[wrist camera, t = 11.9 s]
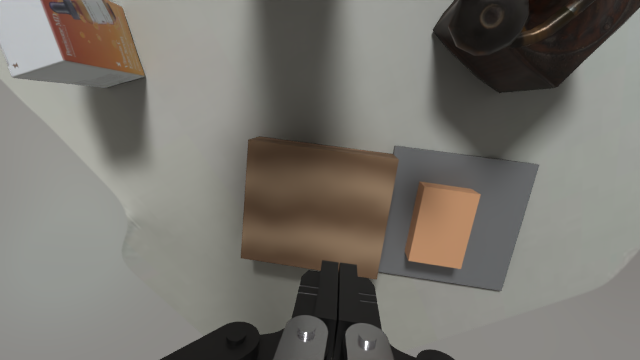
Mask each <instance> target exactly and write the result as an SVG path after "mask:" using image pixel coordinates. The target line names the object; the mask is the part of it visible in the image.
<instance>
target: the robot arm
mask: <svg viewBox="0 0 640 360" xmlns="http://www.w3.org/2000/svg"><path fill="white" fill-rule="evenodd" d="M338 265H339V271H338ZM331 358H332V360H454V359H453V358H452V357H450V356H449V355H447V354H445V353H443V352H440V351H437V350H424V351H421V352H420V353H419V354H418V355H417V357H416V358H415V357H413V356H410V355H408V354H405V353H403V352H401V351H399V350H397V349H395V348H394V347H393V346H391V345H390V343H389V340H388V338H387V336H386V334H385V333H384V332H383V331H382V329H381V323H380V317H379V311H378V305H377V299H376V293H375V287H374V285H373V284H372V282H371V281H370V280H369V279H368V278H364V277H358V273H357V265H356V264H348V263H341V262H340V264H339V262H333V261H325V260H322V264H321V271H320V272H318V271H310V270H308V271H307V272H306V273H305V274H304V275H303V276H302V278H301V282H300V286H299V290H298V294H297V299H296V303H295V307H294V311H293V315H292V319H291V320H289V321H288V323H287V324H286V326H285V328H284V329H282V330H280V331H278V332H275V333H271V334H263V335H259V332H258V330H257V329H256V327H254V326H253V325H251V324H249V323H246V322H232V323H229V324H226V325H224V326H222V327H220V328H218V329H217V330H215V331H213V332H211V333H209V334H207V335H205V336H203V337H202V338H200V339H198V340H196V341H194V342H192V343H190V344H189V345H186V346H185V347H183V348H181V349H179V350H177V351H175V352H173V353H171V354H170V355H168V356H166V357H164V358H162V359H160V360H331Z"/></svg>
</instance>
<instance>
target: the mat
mask: <svg viewBox="0 0 640 360" xmlns="http://www.w3.org/2000/svg"><path fill="white" fill-rule="evenodd" d="M393 155H395V156H396V157H397V158H398V159H399V162H398V167H397V173H396V178H395V183H394V189H393V194H392V200H391V205H390V210H389V216H388V221H387V226H386V232H385V237H384V243H383V248H382V253H381V259H380V264H379V269H378V272H384V273H390V274H397V275H403V276H409V277H416V278H422V279H429V280H435V281H442V282H448V283H455V284H461V285H467V286H474V287H480V288H487V289H493V290H500V291H501V290H502V287H503V284H504V280H505V277H506V274H507V270H508V267H509V264H510V260H511V257H512V254H513V250H514V247H515V244H516V240H517V237H518V234H519V230H520V227H521V224H522V220H523V217H524V214H525V210H526V207H527V204H528V201H529V197H530V194H531V191H532V187H533V184H534V181H535V177H536V174H537V171H538V167H539V165H538V164H531V163H524V162H516V161H508V160H501V159H493V158H485V157H478V156H470V155H462V154H455V153H447V152H439V151H432V150H424V149H416V148H409V147H401V146H395V147H394V152H393ZM419 181H420V182H427V183H434V184H441V185H448V186H455V187H462V188H469V189H473V190H474V191H476V192H477V193H479V194H481V195H480V199H479V203H478V207H477V210H476V214H475V218H474V222H473V225H472V229H471V233H470V237H469V240H468V244H467V248H466V252H465V255H464V259H463V263H462V267H461V269H457V268H451V267H445V266H438V265H432V264H426V263H419V262H413V261H408V259H407V256H406V254H405V247H406V242H407V237H408V233H409V228H410V223H411V219H412V214H413V209H414V205H415V200H416V195H417V191H418V186H419Z"/></svg>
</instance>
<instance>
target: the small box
mask: <svg viewBox="0 0 640 360" xmlns="http://www.w3.org/2000/svg"><path fill="white" fill-rule="evenodd" d="M0 47H1V49H2V52H3V54H4V57H5V59H6V62H7V64H8V68H9V71H10V73H11V76H12V77H13V78H19V79H28V80H37V81H47V82H56V83H66V84H75V85H84V86H93V87H101V88H106V87H110V86H113V85H117V84H121V83H124V82H128V81H131V80H135V79H139V78H142V77H145V74H144V72H143V69H142V66H141V64H140V61H139V58H138V55H137V52H136V49H135V46H134V43H133V40H132V36H131V33H130V30H129V27H128V24H127V21H126V18H125V14H124V11H123V8H122V7H121V6H119V5H117V4H115V3H113V2H110V1H108V0H0Z"/></svg>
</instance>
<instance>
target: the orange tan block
mask: <svg viewBox="0 0 640 360" xmlns="http://www.w3.org/2000/svg"><path fill="white" fill-rule="evenodd" d="M480 195H481V194H479V193H477V192H476V191H474V190H473V189H469V188H462V187H455V186H448V185H441V184H434V183H427V182H420V181H419V186H418V191H417V195H416V200H415V205H414V209H413V214H412V219H411V223H410V228H409V233H408V237H407V242H406V247H405V254H406V256H407V259H408V261H413V262H419V263H426V264H432V265H438V266H445V267H451V268H457V269H461V267H462V263H463V259H464V255H465V252H466V248H467V244H468V240H469V237H470V233H471V229H472V225H473V222H474V218H475V214H476V210H477V207H478V203H479V199H480Z"/></svg>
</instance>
